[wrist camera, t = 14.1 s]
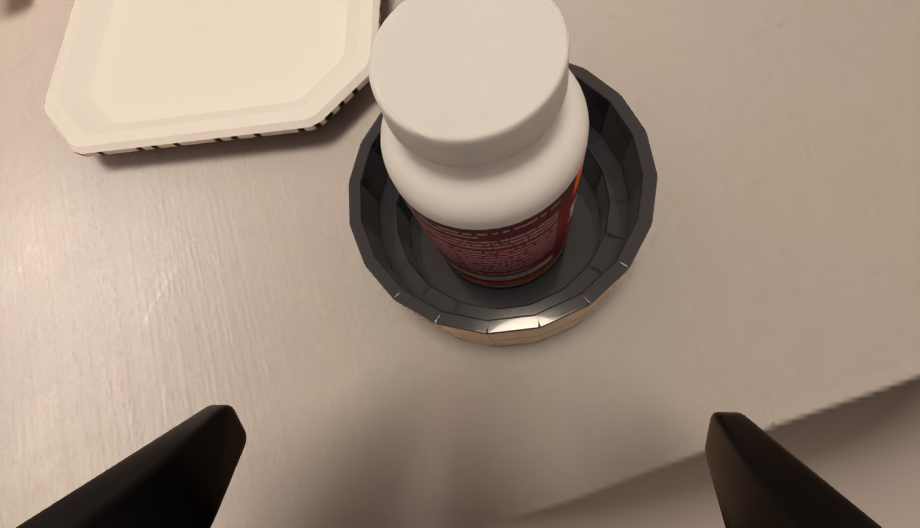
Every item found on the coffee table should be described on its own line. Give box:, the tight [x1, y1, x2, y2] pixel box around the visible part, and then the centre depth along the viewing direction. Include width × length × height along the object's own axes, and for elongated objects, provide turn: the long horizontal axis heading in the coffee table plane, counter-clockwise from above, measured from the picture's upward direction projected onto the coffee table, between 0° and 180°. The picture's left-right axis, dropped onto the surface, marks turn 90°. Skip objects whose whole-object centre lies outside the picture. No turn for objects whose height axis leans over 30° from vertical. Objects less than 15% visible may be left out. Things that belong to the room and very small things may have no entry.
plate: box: [44, 0, 381, 157], centre depth 27 cm, size 21×21×2 cm
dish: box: [349, 63, 657, 346], centre depth 18 cm, size 11×11×5 cm
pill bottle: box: [369, 0, 589, 288], centre depth 15 cm, size 6×6×11 cm
